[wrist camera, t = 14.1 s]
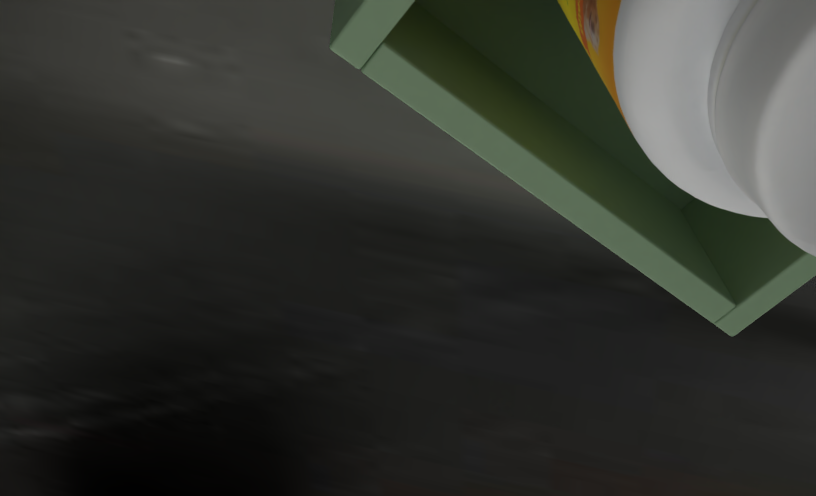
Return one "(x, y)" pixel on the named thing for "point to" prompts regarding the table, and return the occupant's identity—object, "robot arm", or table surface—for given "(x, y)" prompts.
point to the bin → (566, 143)
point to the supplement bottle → (717, 97)
